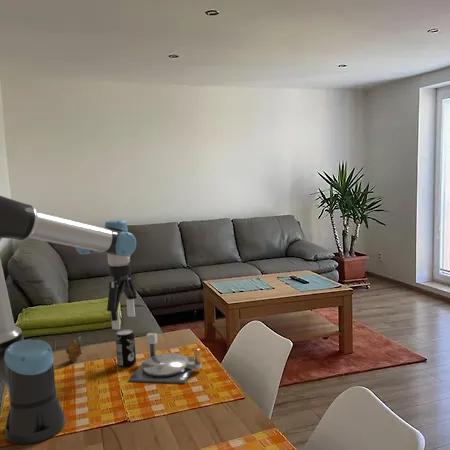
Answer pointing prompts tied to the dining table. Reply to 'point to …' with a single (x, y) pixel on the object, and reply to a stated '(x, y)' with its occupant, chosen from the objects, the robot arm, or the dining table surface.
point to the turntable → (170, 364)
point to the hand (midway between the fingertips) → (124, 322)
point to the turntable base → (176, 378)
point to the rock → (74, 350)
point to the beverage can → (125, 348)
